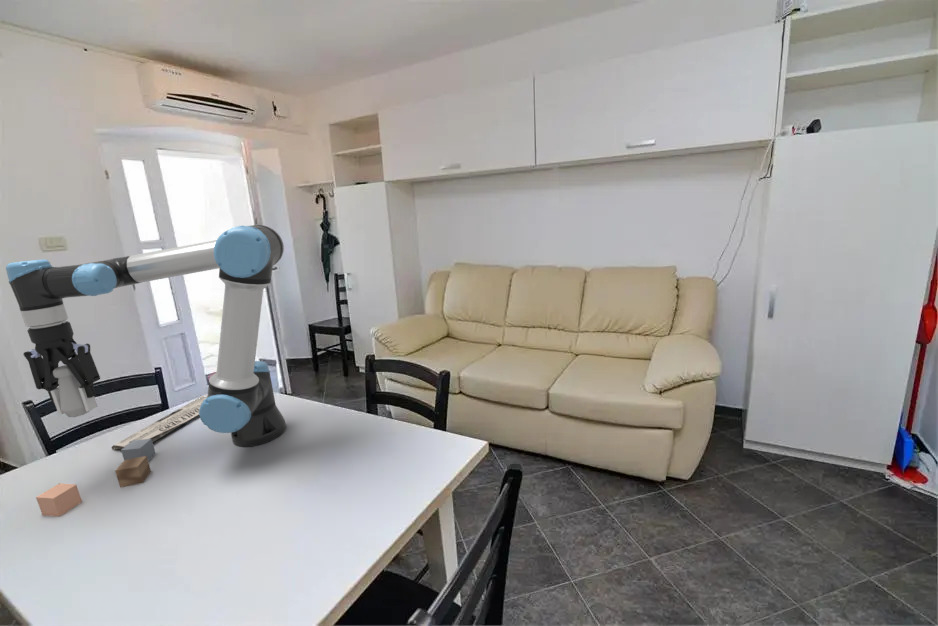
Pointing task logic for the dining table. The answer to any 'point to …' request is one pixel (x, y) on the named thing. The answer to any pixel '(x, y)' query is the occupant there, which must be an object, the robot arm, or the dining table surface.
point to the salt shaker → (69, 392)
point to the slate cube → (139, 449)
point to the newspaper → (165, 424)
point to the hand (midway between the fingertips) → (78, 410)
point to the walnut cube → (133, 471)
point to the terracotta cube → (59, 499)
